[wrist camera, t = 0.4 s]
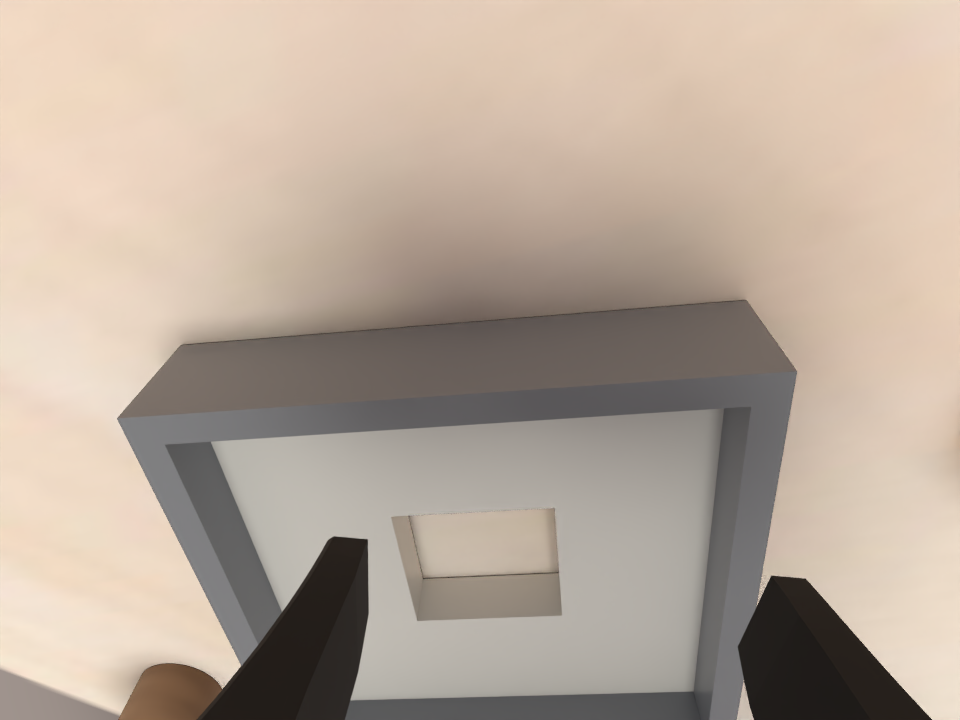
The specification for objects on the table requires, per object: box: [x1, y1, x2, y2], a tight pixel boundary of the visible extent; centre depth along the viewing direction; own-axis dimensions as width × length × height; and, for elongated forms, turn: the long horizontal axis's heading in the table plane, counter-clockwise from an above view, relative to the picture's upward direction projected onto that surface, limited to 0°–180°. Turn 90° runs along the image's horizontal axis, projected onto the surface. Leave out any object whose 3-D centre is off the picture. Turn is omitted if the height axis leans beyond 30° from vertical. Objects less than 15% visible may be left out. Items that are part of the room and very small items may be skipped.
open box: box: [117, 300, 797, 720], centre depth 23 cm, size 18×18×4 cm
